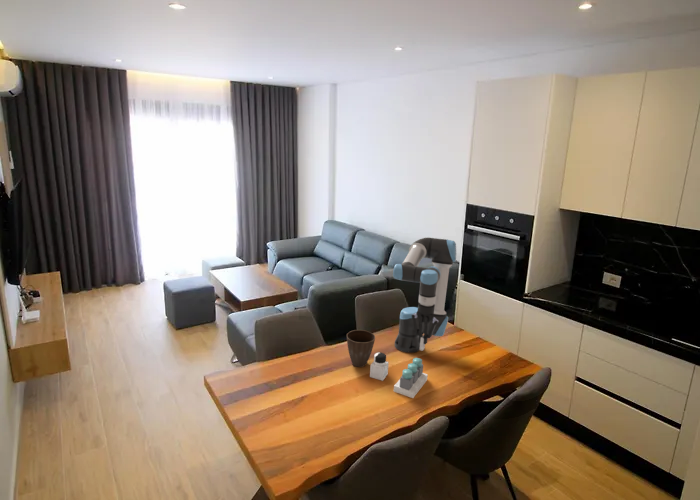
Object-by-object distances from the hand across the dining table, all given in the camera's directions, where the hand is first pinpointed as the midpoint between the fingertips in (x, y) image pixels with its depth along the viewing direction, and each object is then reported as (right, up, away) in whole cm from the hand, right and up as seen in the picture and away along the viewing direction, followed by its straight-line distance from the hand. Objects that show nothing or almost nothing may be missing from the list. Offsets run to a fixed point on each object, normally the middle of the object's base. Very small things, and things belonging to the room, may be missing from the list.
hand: (422, 349), depth 205 cm
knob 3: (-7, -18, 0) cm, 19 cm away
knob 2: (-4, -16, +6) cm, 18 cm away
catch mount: (-4, -19, +7) cm, 21 cm away
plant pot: (-29, -13, +25) cm, 41 cm away
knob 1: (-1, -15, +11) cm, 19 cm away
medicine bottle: (-20, -17, +14) cm, 29 cm away
